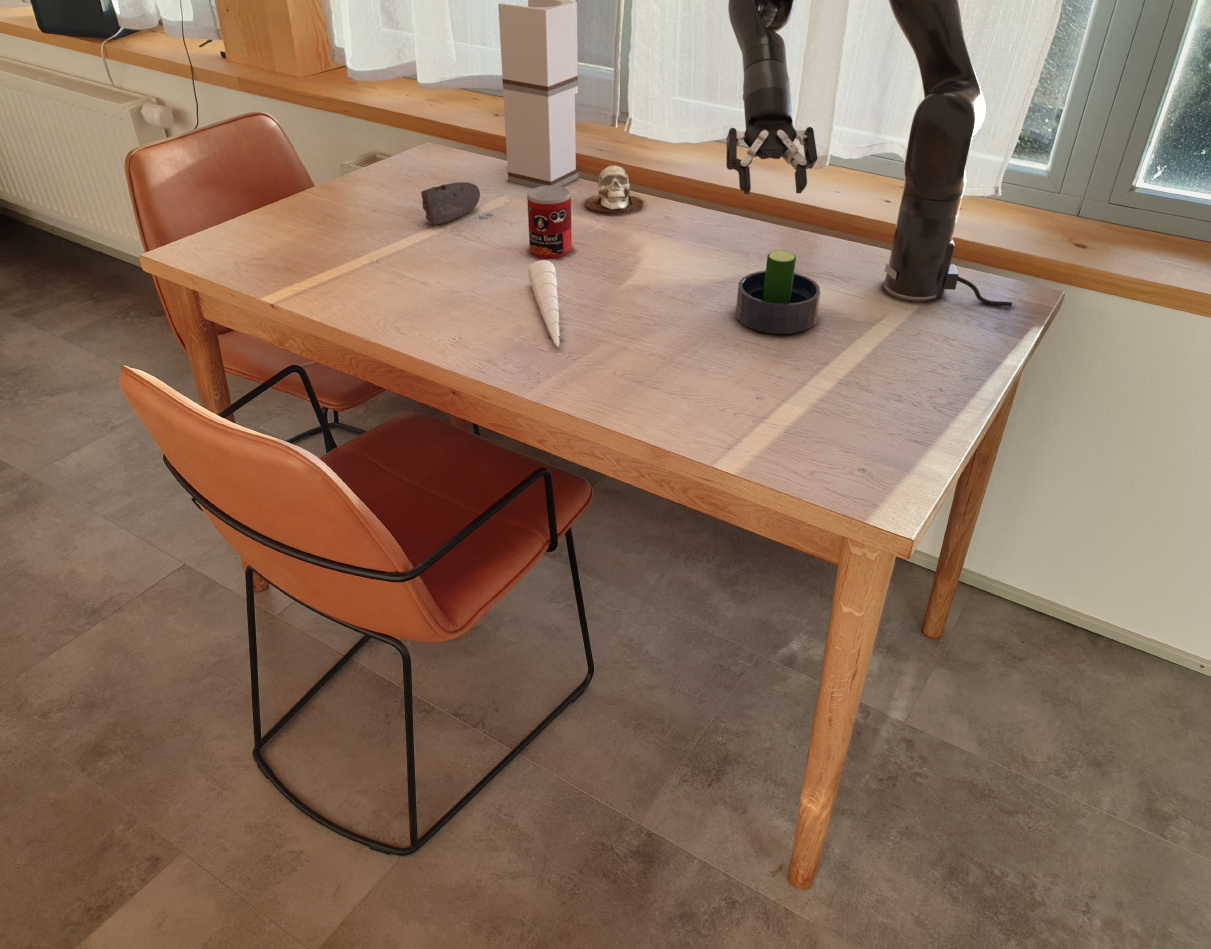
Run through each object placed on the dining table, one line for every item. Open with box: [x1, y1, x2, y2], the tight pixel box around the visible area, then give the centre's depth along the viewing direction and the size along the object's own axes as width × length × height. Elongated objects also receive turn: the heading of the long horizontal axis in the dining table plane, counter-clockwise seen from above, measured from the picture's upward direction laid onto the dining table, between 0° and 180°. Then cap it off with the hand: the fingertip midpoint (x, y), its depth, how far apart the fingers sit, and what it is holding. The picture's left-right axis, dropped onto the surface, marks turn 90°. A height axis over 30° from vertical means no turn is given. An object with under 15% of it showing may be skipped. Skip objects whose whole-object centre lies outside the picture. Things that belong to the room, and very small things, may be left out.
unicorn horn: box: [527, 259, 560, 348], centre depth 150 cm, size 5×24×5 cm, turn 5°
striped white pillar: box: [497, 0, 580, 188], centre depth 195 cm, size 11×11×35 cm
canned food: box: [526, 186, 573, 260], centre depth 170 cm, size 8×8×11 cm
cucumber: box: [762, 250, 797, 304], centre depth 148 cm, size 4×4×10 cm
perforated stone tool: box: [420, 181, 481, 226], centre depth 184 cm, size 15×5×7 cm, turn 139°
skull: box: [584, 165, 644, 213], centre depth 191 cm, size 12×10×10 cm
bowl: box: [735, 270, 822, 335], centre depth 150 cm, size 13×13×6 cm
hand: (773, 191), depth 149 cm, fingers open, 8 cm apart
